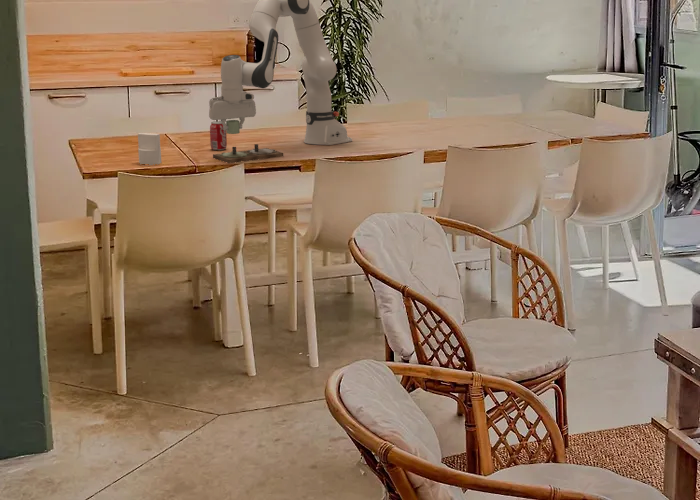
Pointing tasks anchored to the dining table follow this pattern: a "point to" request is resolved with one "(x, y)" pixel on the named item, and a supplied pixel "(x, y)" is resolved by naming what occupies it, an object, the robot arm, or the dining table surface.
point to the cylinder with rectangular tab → (149, 148)
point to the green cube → (233, 126)
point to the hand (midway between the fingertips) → (233, 129)
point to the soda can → (218, 136)
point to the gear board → (247, 155)
